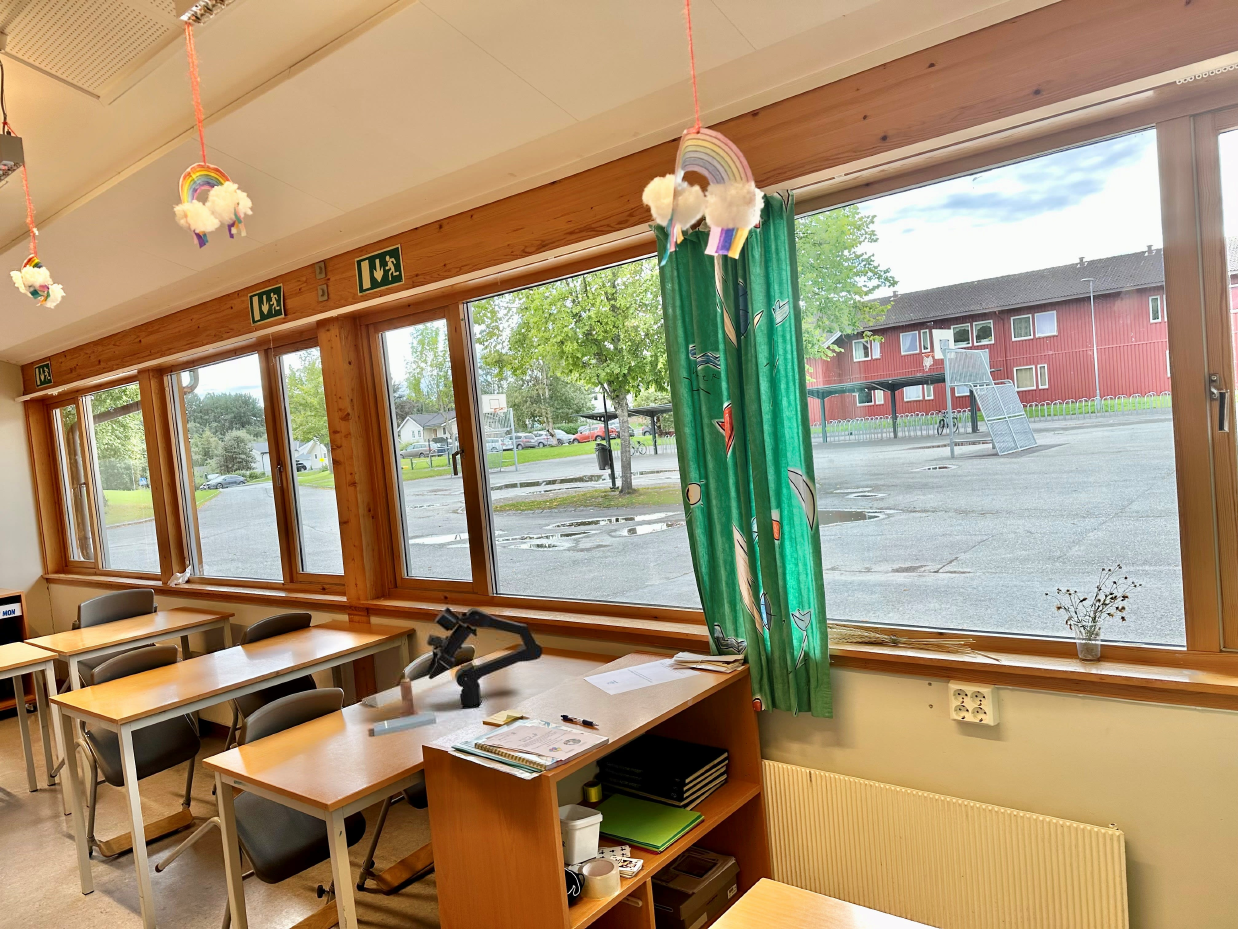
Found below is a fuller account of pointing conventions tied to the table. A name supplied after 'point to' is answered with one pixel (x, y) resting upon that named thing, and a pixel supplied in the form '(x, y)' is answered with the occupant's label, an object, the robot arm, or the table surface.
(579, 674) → the table surface
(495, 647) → the table surface
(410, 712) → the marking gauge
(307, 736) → the table surface
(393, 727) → the board
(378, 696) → the decorative molding
